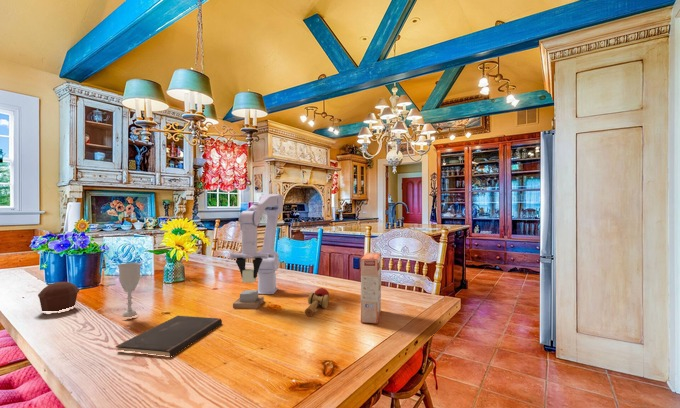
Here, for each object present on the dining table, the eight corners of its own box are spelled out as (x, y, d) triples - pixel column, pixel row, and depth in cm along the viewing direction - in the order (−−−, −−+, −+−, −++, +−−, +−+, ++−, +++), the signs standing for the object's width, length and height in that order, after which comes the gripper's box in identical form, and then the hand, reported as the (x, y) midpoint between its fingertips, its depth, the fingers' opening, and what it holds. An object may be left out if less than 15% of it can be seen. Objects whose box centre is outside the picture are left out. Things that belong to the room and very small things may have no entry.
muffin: (71, 313, 110) (71, 285, 110) (30, 317, 106) (30, 288, 106) (84, 304, 121) (84, 278, 121) (47, 307, 117) (48, 280, 117)
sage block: (245, 280, 122) (245, 268, 122) (256, 280, 122) (256, 268, 122) (242, 282, 118) (242, 270, 118) (252, 282, 118) (252, 270, 118)
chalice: (112, 319, 105) (112, 265, 105) (133, 313, 111) (134, 262, 111) (124, 322, 101) (125, 267, 101) (146, 316, 107) (146, 263, 108)
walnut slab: (241, 302, 125) (241, 296, 125) (263, 302, 124) (263, 296, 124) (232, 310, 116) (232, 303, 116) (257, 310, 115) (257, 303, 115)
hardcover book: (115, 355, 81) (115, 346, 81) (177, 322, 103) (177, 315, 103) (170, 360, 78) (170, 351, 78) (222, 325, 100) (222, 318, 100)
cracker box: (378, 324, 99) (378, 258, 100) (360, 323, 101) (359, 258, 101) (382, 310, 113) (381, 252, 113) (365, 309, 114) (365, 252, 115)
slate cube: (244, 297, 123) (244, 290, 123) (258, 297, 123) (258, 290, 123) (239, 302, 117) (239, 294, 117) (254, 301, 117) (254, 293, 117)
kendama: (322, 321, 106) (334, 299, 124) (318, 303, 106) (331, 283, 123) (301, 323, 108) (316, 301, 126) (297, 306, 108) (313, 286, 125)
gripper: (226, 243, 116) (226, 279, 116) (265, 243, 116) (265, 279, 116) (233, 241, 124) (233, 275, 123) (270, 241, 123) (270, 275, 123)
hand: (249, 277), depth 120 cm, fingers closed on sage block, 4 cm apart
